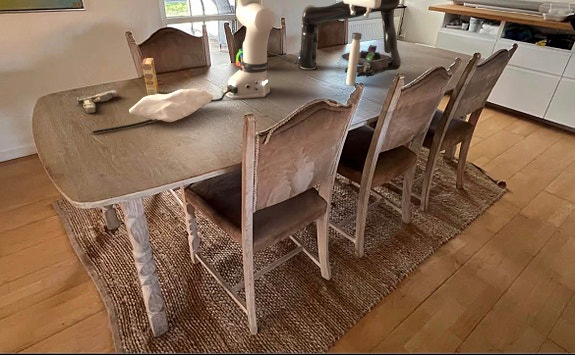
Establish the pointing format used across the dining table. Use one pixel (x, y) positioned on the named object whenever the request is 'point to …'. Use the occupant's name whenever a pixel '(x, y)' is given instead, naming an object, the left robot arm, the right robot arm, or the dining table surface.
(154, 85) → the candy box
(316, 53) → the right robot arm
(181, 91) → the crumpled cloth
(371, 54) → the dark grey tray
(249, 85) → the left robot arm
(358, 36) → the cap
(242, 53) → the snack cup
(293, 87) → the dining table surface
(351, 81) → the cream tall cylinder
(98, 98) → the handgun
